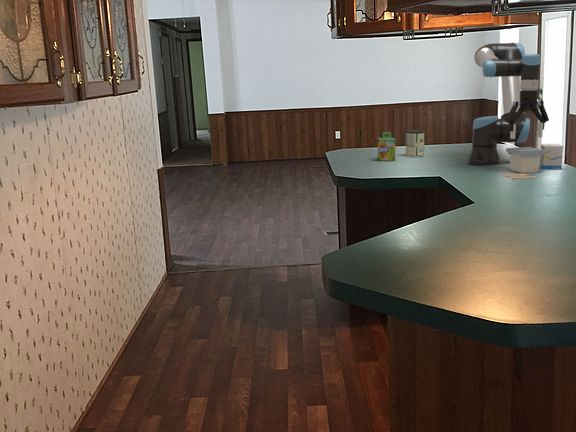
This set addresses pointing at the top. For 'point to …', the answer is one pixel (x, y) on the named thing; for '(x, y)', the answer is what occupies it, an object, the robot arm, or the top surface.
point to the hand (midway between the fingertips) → (526, 138)
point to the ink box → (551, 157)
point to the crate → (524, 163)
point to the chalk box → (386, 147)
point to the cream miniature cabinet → (415, 143)
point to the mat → (519, 176)
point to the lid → (526, 151)
